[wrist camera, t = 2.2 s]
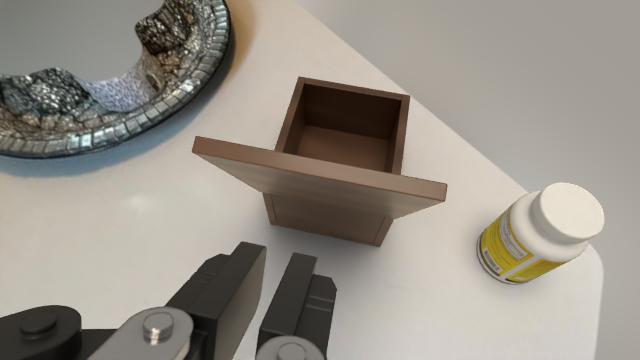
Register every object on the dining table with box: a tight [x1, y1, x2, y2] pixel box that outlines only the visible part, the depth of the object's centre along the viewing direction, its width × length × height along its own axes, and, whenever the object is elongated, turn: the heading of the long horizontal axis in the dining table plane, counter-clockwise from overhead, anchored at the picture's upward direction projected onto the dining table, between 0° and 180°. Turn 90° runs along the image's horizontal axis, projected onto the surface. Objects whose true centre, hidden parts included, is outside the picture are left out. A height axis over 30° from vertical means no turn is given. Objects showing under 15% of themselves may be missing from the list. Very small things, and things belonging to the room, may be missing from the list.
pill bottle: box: [477, 183, 604, 284], centre depth 33 cm, size 6×6×11 cm
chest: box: [262, 77, 410, 247], centre depth 38 cm, size 14×12×8 cm
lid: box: [192, 136, 447, 219], centre depth 24 cm, size 14×12×1 cm
